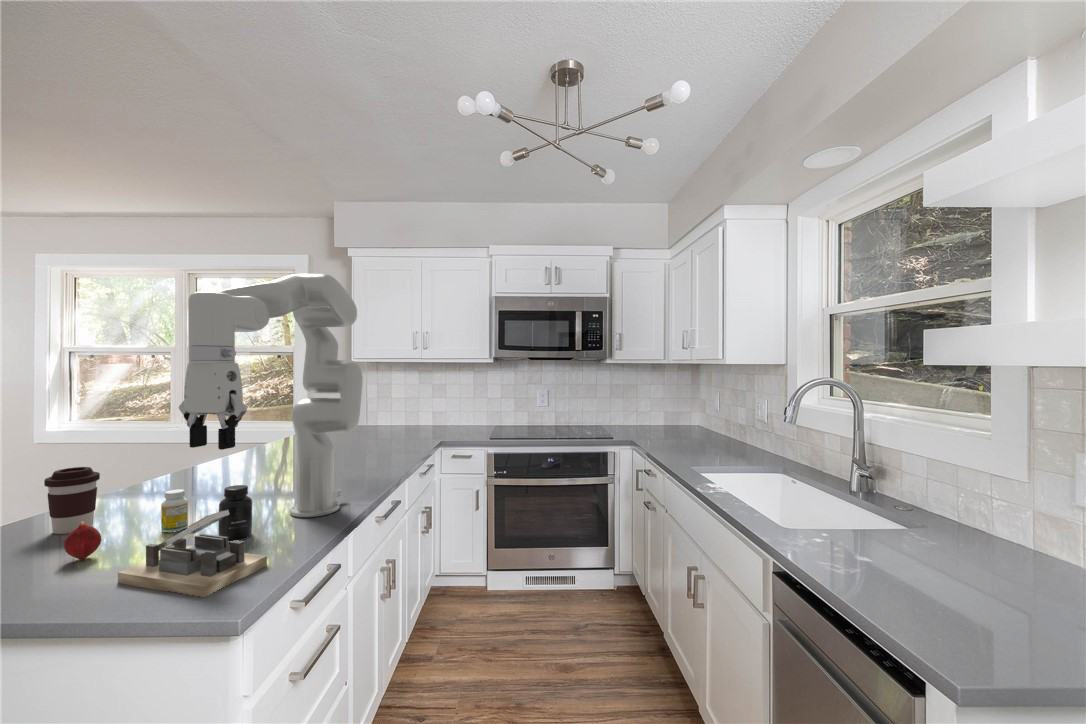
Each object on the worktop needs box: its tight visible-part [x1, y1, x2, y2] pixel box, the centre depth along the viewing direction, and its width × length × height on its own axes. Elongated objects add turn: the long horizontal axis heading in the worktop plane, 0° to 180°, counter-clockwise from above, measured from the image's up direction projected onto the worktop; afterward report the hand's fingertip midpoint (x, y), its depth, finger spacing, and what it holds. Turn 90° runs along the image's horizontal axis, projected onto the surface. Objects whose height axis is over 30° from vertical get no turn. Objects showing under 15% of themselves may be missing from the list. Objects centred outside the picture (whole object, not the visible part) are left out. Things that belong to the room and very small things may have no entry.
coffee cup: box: [43, 466, 101, 535], centre depth 122 cm, size 10×10×15 cm
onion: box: [63, 522, 102, 561], centre depth 104 cm, size 6×6×8 cm
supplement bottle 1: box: [160, 488, 189, 533], centre depth 122 cm, size 5×5×10 cm
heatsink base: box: [117, 533, 268, 598], centre depth 98 cm, size 14×21×6 cm, turn 75°
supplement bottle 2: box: [218, 484, 253, 541], centre depth 117 cm, size 7×7×12 cm
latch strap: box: [158, 510, 230, 552], centre depth 98 cm, size 4×16×1 cm, turn 75°
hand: (212, 446), depth 96 cm, fingers open, 6 cm apart
